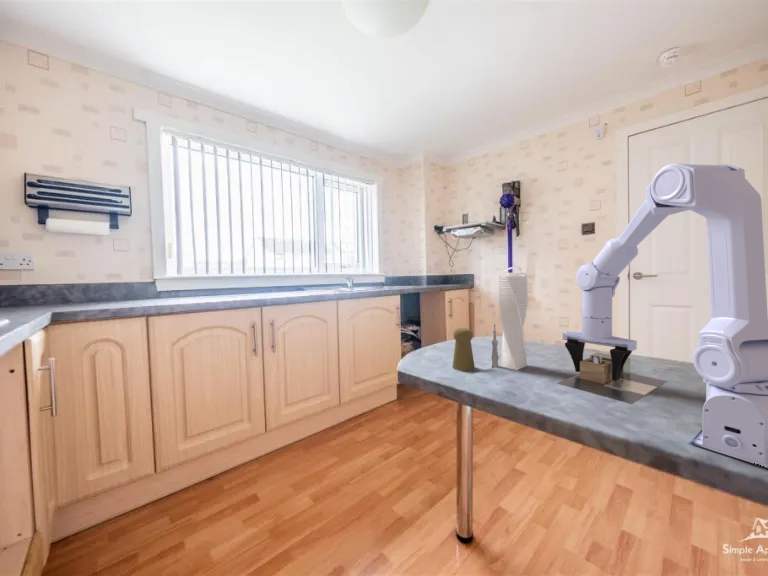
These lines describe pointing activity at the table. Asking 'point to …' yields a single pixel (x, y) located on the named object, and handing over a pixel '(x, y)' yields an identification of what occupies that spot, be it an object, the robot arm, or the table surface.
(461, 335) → the cork
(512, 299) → the skyscraper
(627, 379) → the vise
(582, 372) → the wooden box
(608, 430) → the table surface
